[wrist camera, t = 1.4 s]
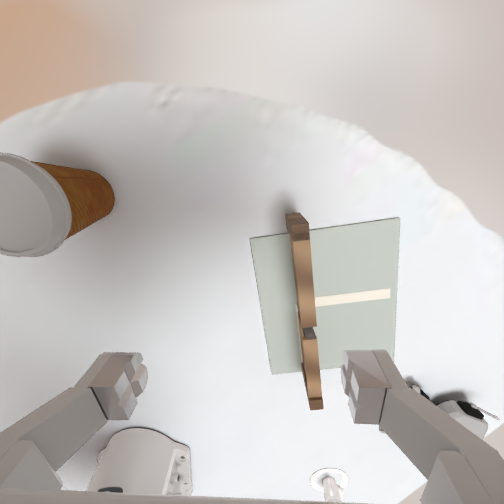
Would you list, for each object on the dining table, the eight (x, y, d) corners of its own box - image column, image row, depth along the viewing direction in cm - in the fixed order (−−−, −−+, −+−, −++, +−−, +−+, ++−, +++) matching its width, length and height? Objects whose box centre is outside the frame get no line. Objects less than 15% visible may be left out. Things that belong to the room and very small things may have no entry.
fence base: (312, 369, 41) (324, 411, 34) (302, 370, 41) (311, 412, 34) (306, 299, 37) (317, 330, 30) (294, 300, 37) (302, 332, 30)
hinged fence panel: (307, 300, 36) (316, 326, 30) (294, 301, 36) (302, 328, 30) (299, 212, 31) (308, 223, 26) (285, 214, 32) (291, 225, 26)
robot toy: (368, 416, 46) (441, 443, 46) (378, 441, 42) (458, 471, 42) (404, 368, 42) (484, 399, 42) (418, 391, 38) (507, 424, 38)
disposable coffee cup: (75, 236, 35) (-14, 270, 23) (41, 167, 32) (-80, 168, 20) (137, 221, 34) (76, 249, 22) (108, 148, 31) (21, 138, 19)
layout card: (392, 360, 40) (394, 362, 40) (271, 372, 42) (271, 374, 41) (398, 217, 33) (400, 218, 32) (249, 238, 34) (249, 239, 34)
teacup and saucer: (342, 493, 53) (349, 519, 49) (306, 490, 53) (309, 515, 49) (351, 467, 50) (359, 492, 46) (312, 463, 50) (317, 488, 46)
